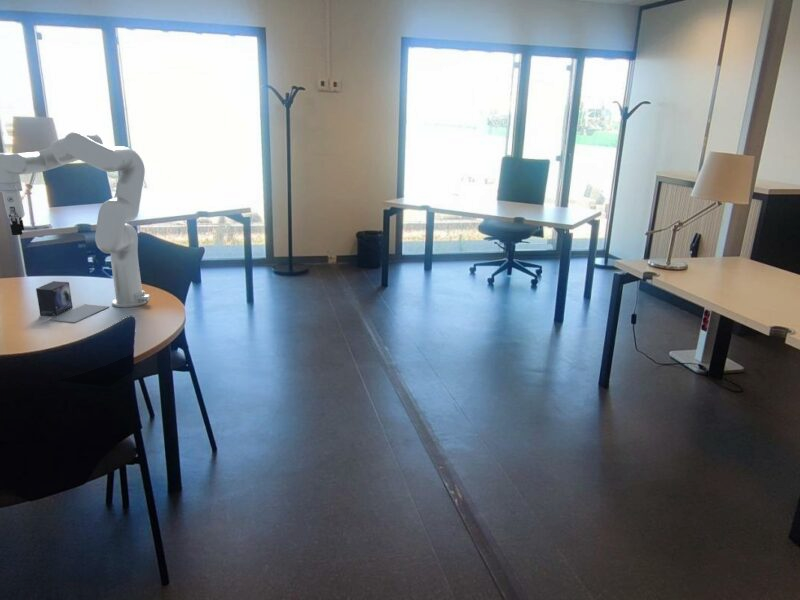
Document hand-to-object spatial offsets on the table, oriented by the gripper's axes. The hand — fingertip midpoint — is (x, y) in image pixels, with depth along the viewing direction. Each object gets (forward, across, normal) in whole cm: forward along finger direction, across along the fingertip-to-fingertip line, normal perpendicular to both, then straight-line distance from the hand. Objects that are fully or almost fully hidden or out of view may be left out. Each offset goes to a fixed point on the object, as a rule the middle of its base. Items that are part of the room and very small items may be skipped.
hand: (18, 232), depth 209 cm
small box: (+27, -20, -9) cm, 35 cm away
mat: (+27, -26, -16) cm, 41 cm away
